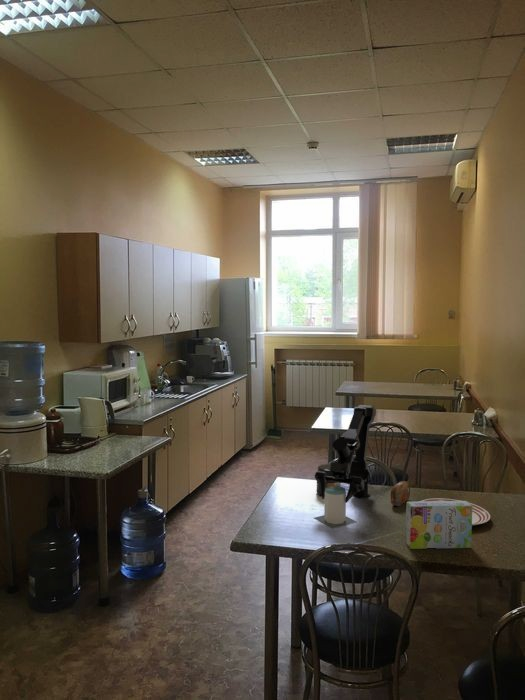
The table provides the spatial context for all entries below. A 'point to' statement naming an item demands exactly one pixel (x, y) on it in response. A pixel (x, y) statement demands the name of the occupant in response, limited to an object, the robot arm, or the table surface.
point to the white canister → (335, 505)
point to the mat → (347, 522)
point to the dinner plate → (477, 512)
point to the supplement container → (327, 469)
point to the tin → (400, 493)
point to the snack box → (438, 524)
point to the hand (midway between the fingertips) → (334, 500)
